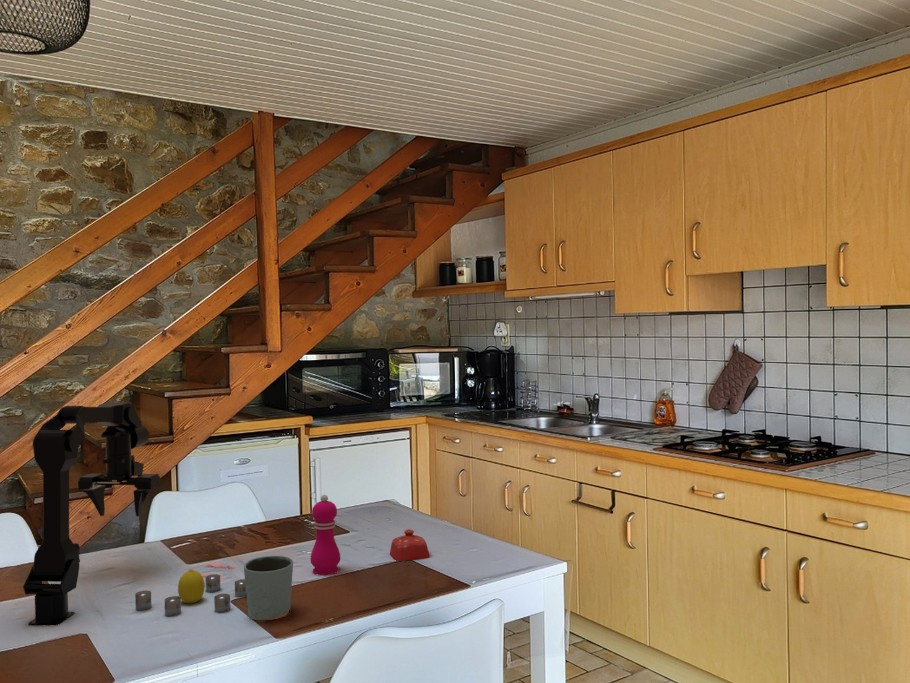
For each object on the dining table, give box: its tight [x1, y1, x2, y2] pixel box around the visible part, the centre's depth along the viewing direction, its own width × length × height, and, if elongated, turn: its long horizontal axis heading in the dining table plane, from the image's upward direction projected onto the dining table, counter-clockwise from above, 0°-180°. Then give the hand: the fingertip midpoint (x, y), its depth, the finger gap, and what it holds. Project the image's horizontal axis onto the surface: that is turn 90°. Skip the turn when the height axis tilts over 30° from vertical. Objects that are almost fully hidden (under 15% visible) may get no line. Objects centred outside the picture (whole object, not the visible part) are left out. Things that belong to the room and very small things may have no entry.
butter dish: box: [389, 528, 430, 562], centre depth 196 cm, size 12×12×8 cm
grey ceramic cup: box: [243, 555, 294, 620], centre depth 159 cm, size 10×10×12 cm
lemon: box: [177, 568, 206, 604], centre depth 168 cm, size 6×6×8 cm
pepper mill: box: [310, 494, 341, 576], centre depth 185 cm, size 7×7×20 cm
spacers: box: [134, 573, 247, 617], centre depth 168 cm, size 17×22×4 cm
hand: (120, 516), depth 188 cm, fingers open, 9 cm apart
